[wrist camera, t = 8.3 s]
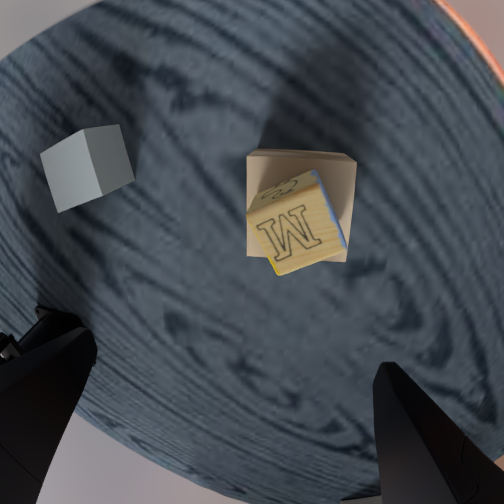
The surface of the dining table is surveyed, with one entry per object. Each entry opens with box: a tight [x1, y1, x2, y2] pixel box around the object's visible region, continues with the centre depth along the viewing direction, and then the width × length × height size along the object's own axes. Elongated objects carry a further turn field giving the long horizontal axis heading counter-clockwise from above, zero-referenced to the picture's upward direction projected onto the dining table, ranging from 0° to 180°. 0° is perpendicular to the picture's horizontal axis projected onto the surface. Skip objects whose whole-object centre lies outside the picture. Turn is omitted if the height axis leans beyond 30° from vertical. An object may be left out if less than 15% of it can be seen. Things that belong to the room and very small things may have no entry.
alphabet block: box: [246, 169, 348, 276], centre depth 13 cm, size 3×3×3 cm
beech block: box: [247, 148, 357, 262], centre depth 16 cm, size 5×5×4 cm
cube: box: [40, 124, 135, 213], centre depth 17 cm, size 4×4×4 cm
